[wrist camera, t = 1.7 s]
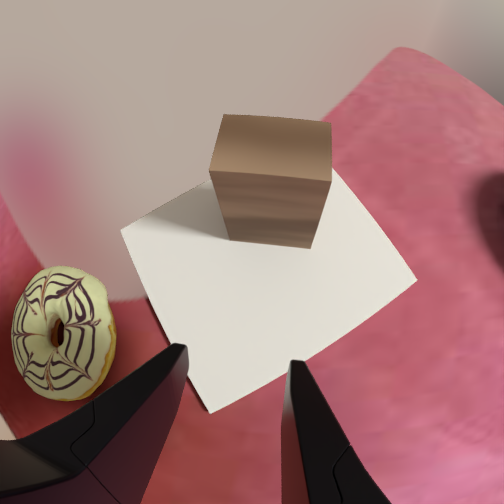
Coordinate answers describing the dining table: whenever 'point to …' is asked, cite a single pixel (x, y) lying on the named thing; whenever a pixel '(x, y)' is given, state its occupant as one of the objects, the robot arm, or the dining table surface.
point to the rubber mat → (260, 287)
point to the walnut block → (272, 178)
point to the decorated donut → (75, 334)
